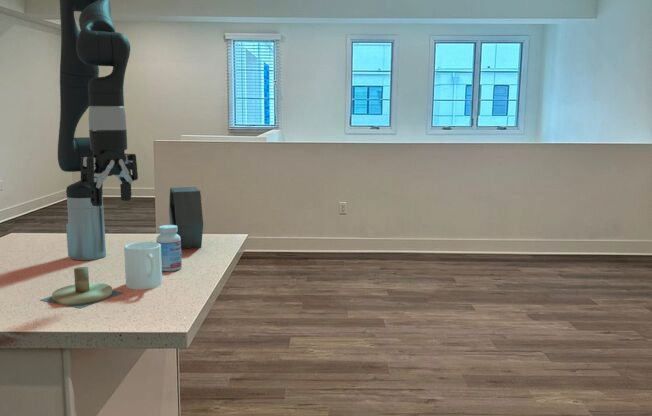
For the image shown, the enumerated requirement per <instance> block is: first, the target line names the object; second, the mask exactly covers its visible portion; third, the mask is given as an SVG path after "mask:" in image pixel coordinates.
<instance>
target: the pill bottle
mask: <svg viewBox="0 0 652 416" xmlns="http://www.w3.org/2000/svg"><path fill="white" fill-rule="evenodd" d="M177 231H178V229H177V226H176V225H170V224H164V225H160V226H158V232H159V235H158V236H157V237H156V243H159V244H161V261H162V272H174V271H176V272H177V271H179V270H181V268H182V267H183V265H182V264H183V263H182V262H183V261H182V249H181V238H180V236H179V235H178V234H177Z"/></svg>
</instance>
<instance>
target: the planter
mask: <svg viewBox="0 0 652 416" xmlns="http://www.w3.org/2000/svg"><path fill="white" fill-rule="evenodd" d="M201 193H202V192H201V190H200V189H199V188H198V187H196V186H188V187H187V186H183V187H181V186H180V187H170V188H169V205H168V209H169V210H168V213H169V225H176V226H177V229H178V231H177V234H178V235H179V236H180V238H181V250H184V249H185V250H186V249H196V248H198V249H199V248H202V245H203V243H202V242H203V233H204V232H203V231H204V219H203V218H204V217H203V206H202V194H201Z"/></svg>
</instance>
